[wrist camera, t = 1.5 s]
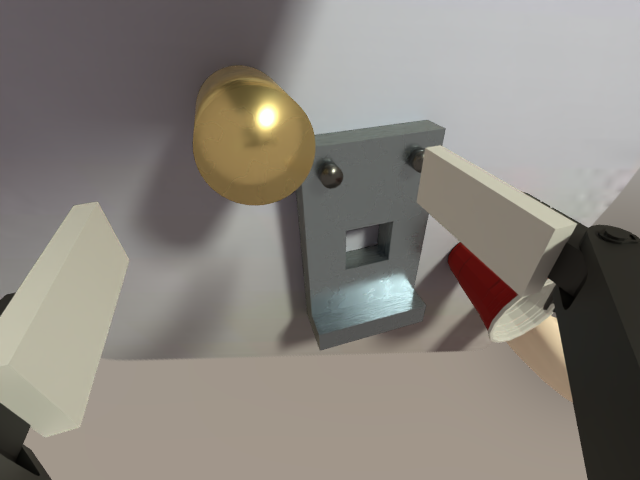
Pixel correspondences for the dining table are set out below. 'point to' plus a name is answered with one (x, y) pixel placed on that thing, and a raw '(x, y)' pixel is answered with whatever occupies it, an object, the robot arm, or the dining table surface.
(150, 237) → the dining table surface
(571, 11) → the dining table surface
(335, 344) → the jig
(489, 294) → the plastic cup
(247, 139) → the golden knob
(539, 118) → the dining table surface
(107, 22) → the dining table surface
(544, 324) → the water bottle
